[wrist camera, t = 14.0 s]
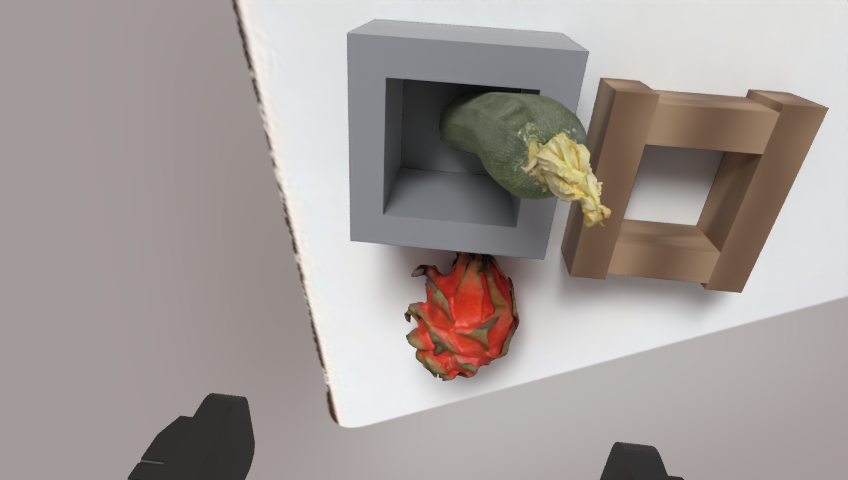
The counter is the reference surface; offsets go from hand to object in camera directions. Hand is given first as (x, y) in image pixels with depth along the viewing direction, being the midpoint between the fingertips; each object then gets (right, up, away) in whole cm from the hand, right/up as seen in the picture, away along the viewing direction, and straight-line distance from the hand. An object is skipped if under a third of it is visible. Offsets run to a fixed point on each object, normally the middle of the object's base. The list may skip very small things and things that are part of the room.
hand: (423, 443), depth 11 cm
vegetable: (+3, +13, +23) cm, 27 cm away
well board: (+17, +9, +24) cm, 31 cm away
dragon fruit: (+3, +1, +30) cm, 30 cm away
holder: (+2, +13, +23) cm, 27 cm away
